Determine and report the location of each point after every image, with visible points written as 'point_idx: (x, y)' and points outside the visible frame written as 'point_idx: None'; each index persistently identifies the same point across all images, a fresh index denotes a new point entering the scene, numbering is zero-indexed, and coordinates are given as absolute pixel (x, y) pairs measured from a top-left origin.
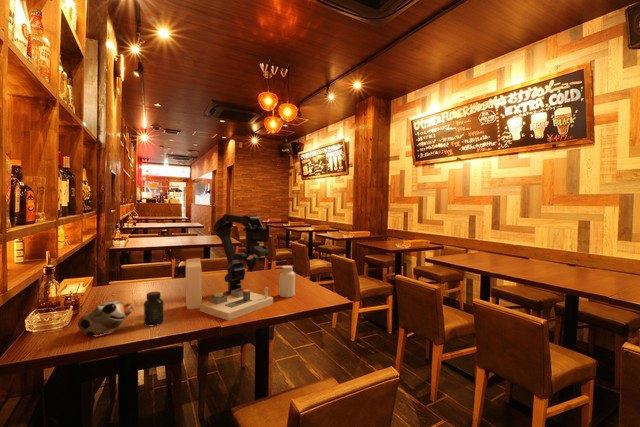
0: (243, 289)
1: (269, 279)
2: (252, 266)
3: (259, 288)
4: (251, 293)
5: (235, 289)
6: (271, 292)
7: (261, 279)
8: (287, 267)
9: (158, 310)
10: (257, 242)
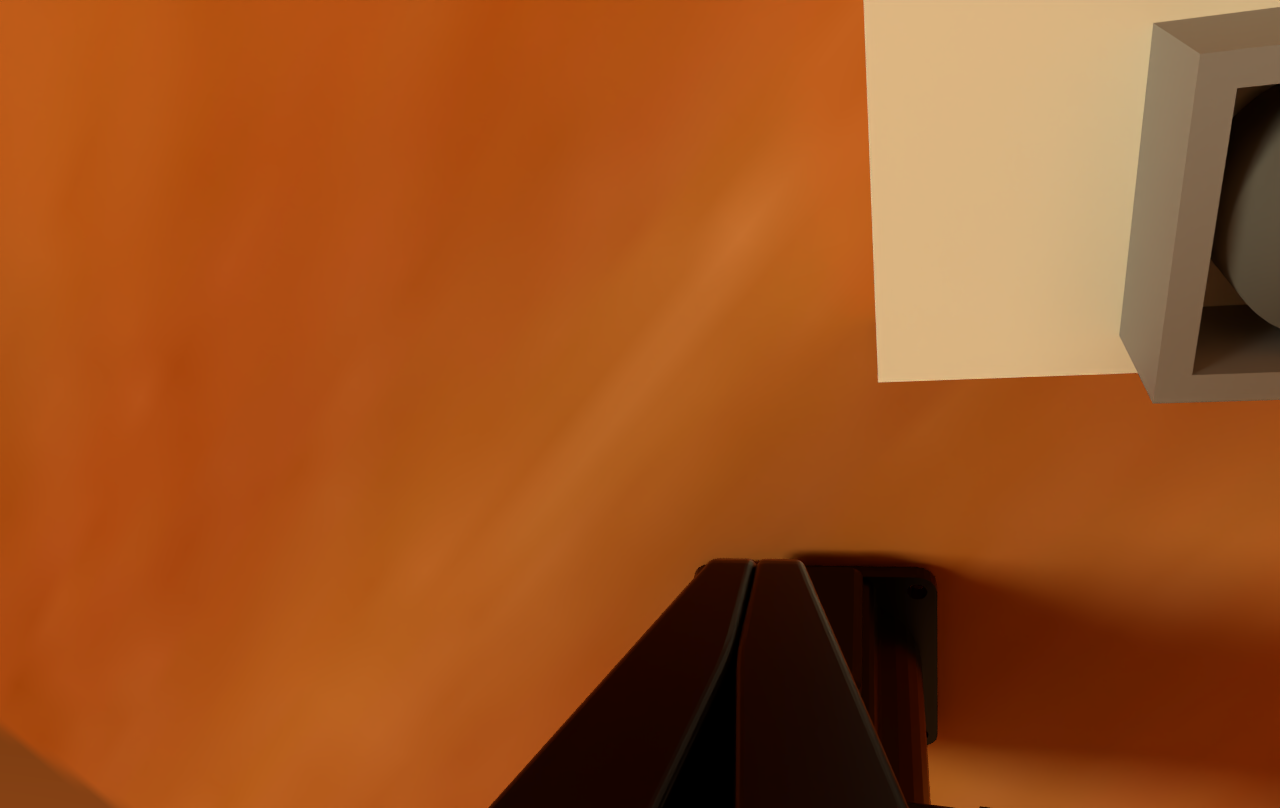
0: (1200, 220)
1: (47, 699)
2: (764, 790)
3: (362, 508)
4: (945, 72)
5: (875, 639)
6: (287, 152)
7: (147, 768)
8: None
9: None
10: None
